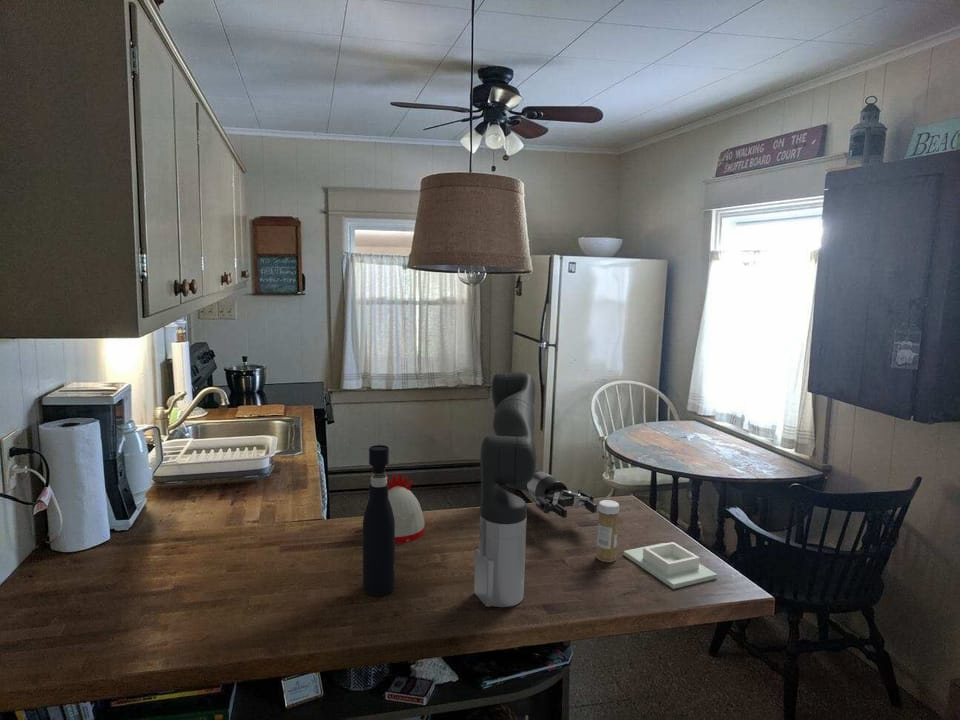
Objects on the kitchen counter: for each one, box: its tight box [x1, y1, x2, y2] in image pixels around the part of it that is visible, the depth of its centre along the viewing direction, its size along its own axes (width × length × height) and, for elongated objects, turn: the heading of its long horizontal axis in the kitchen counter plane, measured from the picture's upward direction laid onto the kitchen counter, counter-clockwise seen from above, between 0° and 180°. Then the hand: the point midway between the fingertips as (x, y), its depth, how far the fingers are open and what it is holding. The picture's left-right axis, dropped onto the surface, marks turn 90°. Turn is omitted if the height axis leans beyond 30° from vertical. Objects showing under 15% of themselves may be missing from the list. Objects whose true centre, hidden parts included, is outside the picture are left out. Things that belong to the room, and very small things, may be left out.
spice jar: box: [595, 499, 620, 563], centre depth 150 cm, size 5×5×14 cm
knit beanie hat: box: [385, 472, 425, 544], centre depth 162 cm, size 14×14×15 cm
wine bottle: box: [362, 444, 396, 597], centre depth 132 cm, size 6×6×30 cm
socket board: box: [623, 541, 718, 590], centre depth 147 cm, size 12×17×4 cm
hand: (580, 511), depth 160 cm, fingers open, 8 cm apart
